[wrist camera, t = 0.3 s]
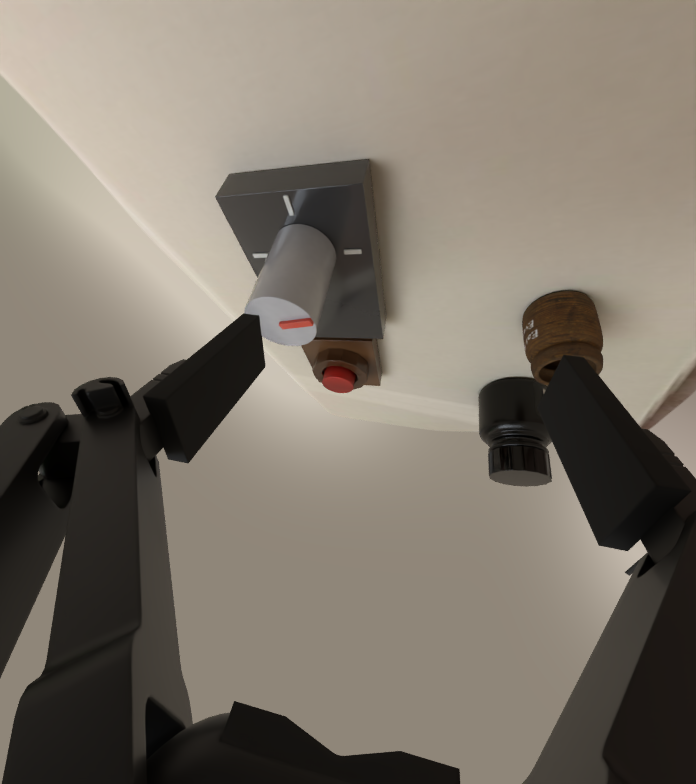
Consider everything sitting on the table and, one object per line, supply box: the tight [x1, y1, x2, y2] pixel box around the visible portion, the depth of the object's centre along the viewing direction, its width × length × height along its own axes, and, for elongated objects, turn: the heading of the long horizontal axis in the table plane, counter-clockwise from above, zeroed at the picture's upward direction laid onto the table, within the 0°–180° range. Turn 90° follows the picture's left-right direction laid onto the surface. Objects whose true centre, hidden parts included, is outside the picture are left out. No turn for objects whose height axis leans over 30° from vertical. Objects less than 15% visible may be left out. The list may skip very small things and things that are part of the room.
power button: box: [322, 366, 356, 393], centre depth 41 cm, size 4×4×2 cm
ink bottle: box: [479, 378, 552, 486], centre depth 42 cm, size 10×9×12 cm
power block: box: [301, 337, 382, 389], centre depth 42 cm, size 10×9×4 cm
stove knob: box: [245, 224, 336, 346], centre depth 25 cm, size 5×5×8 cm
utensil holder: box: [522, 291, 603, 386], centre depth 28 cm, size 6×6×12 cm
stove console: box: [215, 159, 386, 339], centre depth 30 cm, size 16×11×3 cm
